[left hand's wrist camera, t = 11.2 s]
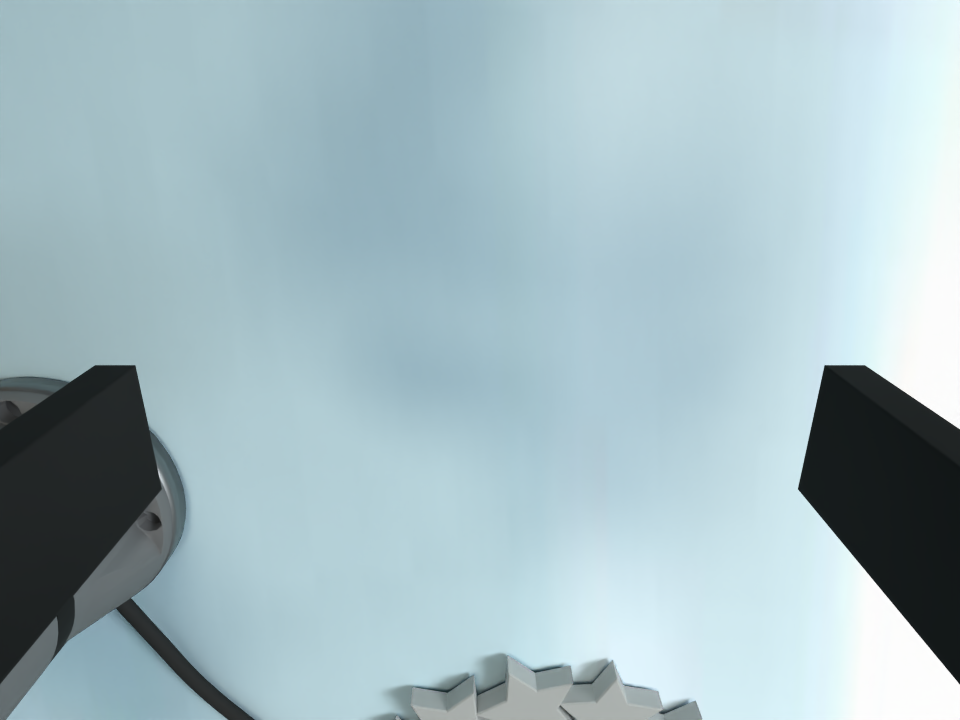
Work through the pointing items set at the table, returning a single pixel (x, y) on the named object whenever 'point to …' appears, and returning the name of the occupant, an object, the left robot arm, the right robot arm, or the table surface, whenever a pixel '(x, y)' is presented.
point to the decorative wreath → (547, 699)
